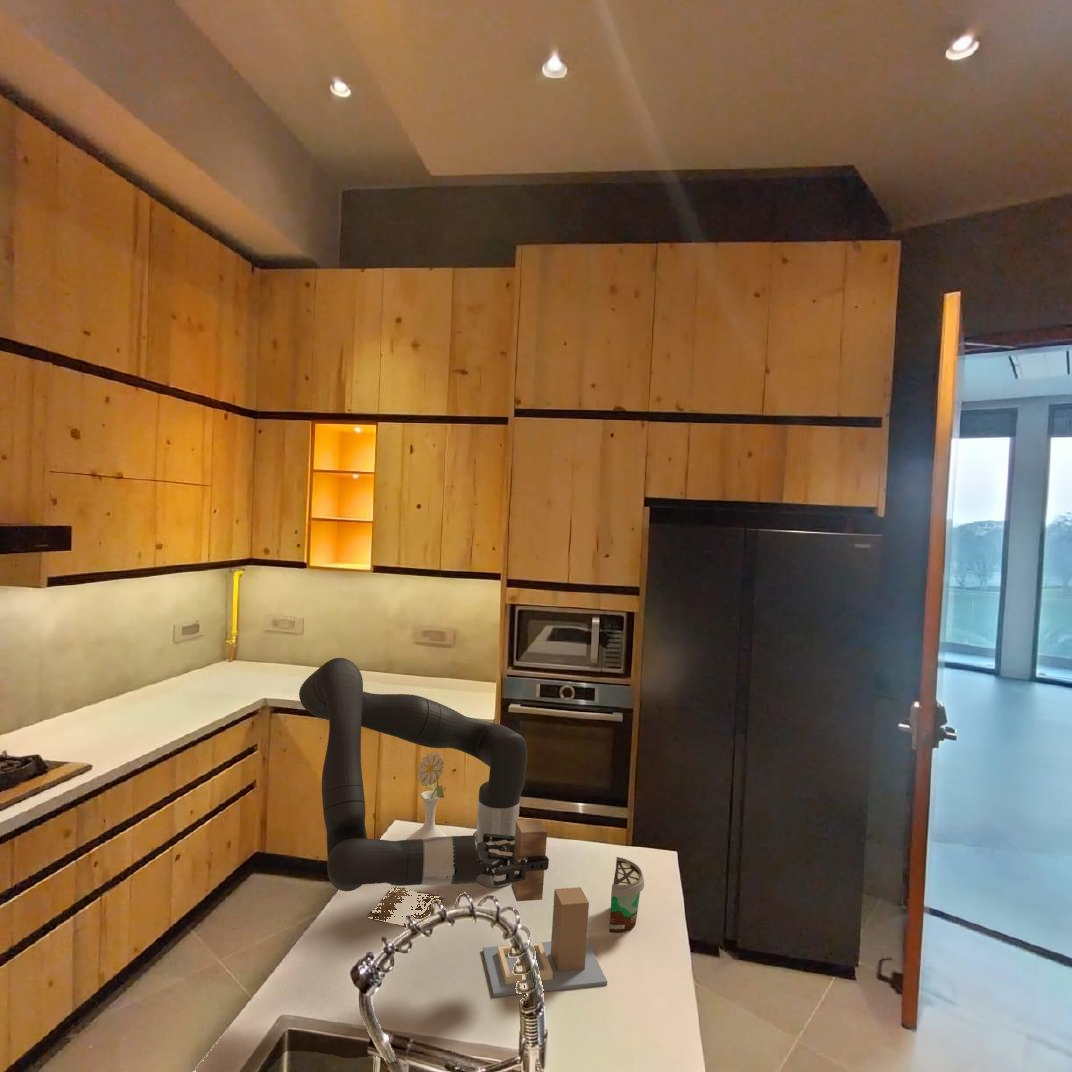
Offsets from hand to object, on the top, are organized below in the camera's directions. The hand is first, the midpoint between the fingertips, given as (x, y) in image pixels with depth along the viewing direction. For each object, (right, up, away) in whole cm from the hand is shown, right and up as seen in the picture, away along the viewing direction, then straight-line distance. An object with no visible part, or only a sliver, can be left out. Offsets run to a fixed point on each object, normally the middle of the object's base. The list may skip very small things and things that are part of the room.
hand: (543, 855), depth 117 cm
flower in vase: (-27, -18, +38) cm, 50 cm away
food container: (+17, -21, +16) cm, 32 cm away
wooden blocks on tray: (0, -20, +1) cm, 20 cm away
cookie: (-28, -19, +16) cm, 37 cm away
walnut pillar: (-3, -6, -1) cm, 7 cm away
